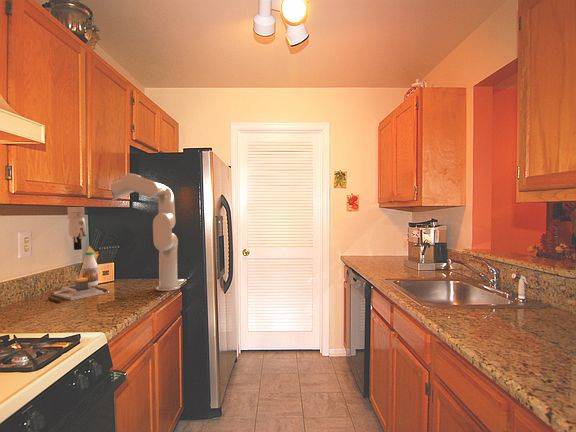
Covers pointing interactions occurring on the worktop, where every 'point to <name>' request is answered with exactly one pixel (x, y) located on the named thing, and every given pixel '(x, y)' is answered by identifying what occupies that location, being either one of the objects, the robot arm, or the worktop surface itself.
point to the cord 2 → (100, 289)
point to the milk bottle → (90, 269)
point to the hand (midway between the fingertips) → (77, 249)
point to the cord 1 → (55, 299)
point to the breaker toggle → (81, 283)
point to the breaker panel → (77, 292)
